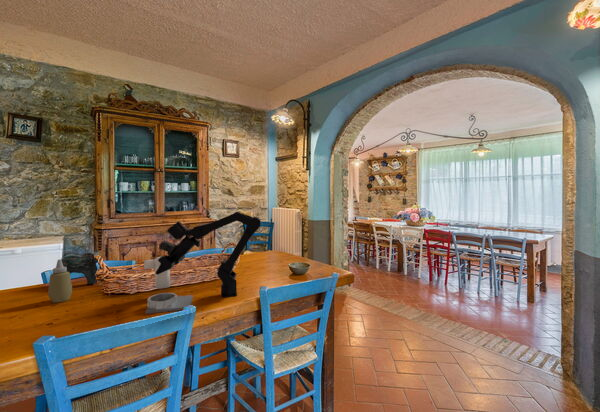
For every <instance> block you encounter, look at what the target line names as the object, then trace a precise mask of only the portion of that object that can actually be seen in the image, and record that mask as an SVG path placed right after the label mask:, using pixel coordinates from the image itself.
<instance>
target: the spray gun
mask: <svg viewBox="0 0 600 412" xmlns="http://www.w3.org/2000/svg"><path fill="white" fill-rule="evenodd" d="M82 247H83V248H84V249H85V251H84V253H83V254H81V253H76V252H67V253H65V254H63V255H62V257H61V258H60V259H61V260H62V263H63V266H64V267H67V272H69V273H70V275H71V274H73V273H75V274H82V275H84V277H85V278H86V285H87V284H95V283H97V280H96V276H95V273H96V271H97V270H98V266H97V264H98V263H99V262H98V260H97V259H95V258H94V255H100V256H101V257H102V255H101V253H100V252H99V250H98V249H95V250H93V251H89V250H87V248H86V246H84V245H80V246H79V247H78V249H80V248H82ZM72 254H73V255H72ZM97 284H98V283H97ZM95 285H96V284H95Z"/></svg>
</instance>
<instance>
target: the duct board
mask: <svg viewBox="0 0 600 412" xmlns="http://www.w3.org/2000/svg"><path fill="white" fill-rule="evenodd" d="M193 298H194V296H193V294H189V295H178V294H176V293H174V292H162V293H161V292H160V293H157V294H153V295H151V296H149V297H148V298H147V300H146V303H147V307H146V310H145V314H146V315H147V314H157V313H168V311H169V312H176V311H177V312H179V311H184V310H183V308H184V307H185V306H188V305H192V303H193Z"/></svg>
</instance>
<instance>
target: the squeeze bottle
mask: <svg viewBox="0 0 600 412" xmlns="http://www.w3.org/2000/svg"><path fill="white" fill-rule="evenodd" d="M61 259H62V258H59V259H57V261H56V266H55V267H53V268H52V273H51V274H50V275H49V282H48V293H47V295H48V298H49V299H50V301H51V303H62V302H66V301H69V300H70V298H71V297H72V296H71V295H72V292H73V285H72V280H71V274H70V273H69V272H67V267H64V266H63V263H62V260H61Z"/></svg>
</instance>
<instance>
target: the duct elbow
mask: <svg viewBox="0 0 600 412" xmlns="http://www.w3.org/2000/svg"><path fill="white" fill-rule="evenodd" d="M160 257H161V256H157V257H155V258H154V259H145V260H144V261H143V269H144V270H151V269H154V282H155V284H154V286H155V287H154V288H155V289H166V288H170V287H171V269H169V270H167V271H164V272H162V273H160V274H158V275H157V274H156V271H157V269H158V268H159V266H160V264H161V263H160V262H159V261H158V259H159V258H160Z"/></svg>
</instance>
